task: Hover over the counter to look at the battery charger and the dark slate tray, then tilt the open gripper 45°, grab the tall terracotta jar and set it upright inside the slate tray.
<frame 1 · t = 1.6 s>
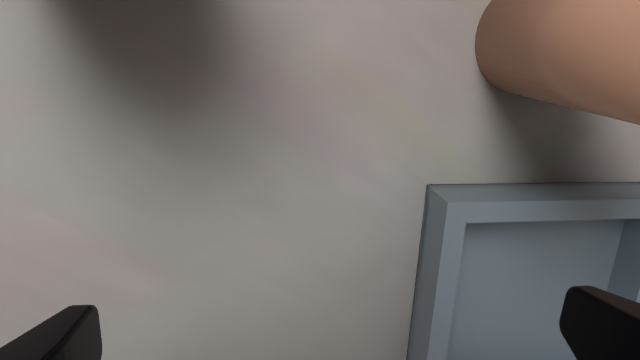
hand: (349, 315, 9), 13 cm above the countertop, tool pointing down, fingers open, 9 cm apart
tray: (518, 286, 26), on the countertop
jar: (526, 38, 21), on the countertop
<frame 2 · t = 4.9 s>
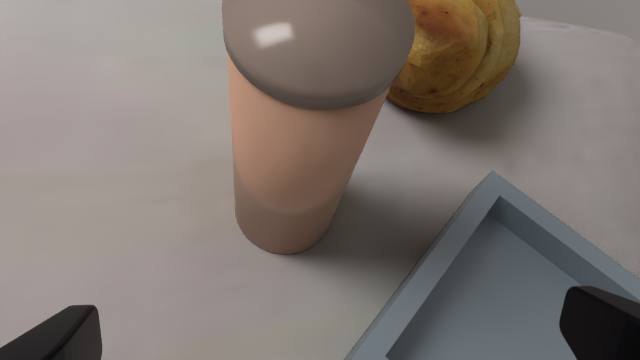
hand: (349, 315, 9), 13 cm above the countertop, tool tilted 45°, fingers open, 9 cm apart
tray: (512, 349, 22), on the countertop
bread roll: (404, 51, 31), on the countertop
jar: (284, 207, 24), on the countertop
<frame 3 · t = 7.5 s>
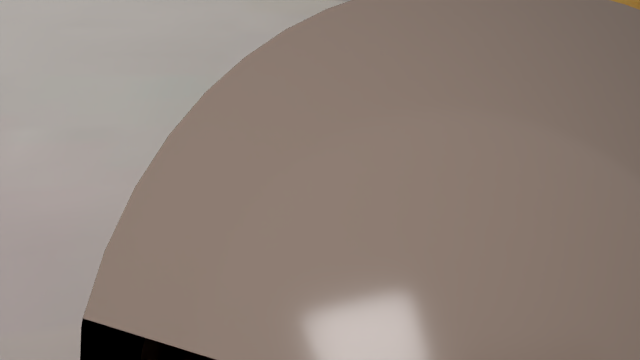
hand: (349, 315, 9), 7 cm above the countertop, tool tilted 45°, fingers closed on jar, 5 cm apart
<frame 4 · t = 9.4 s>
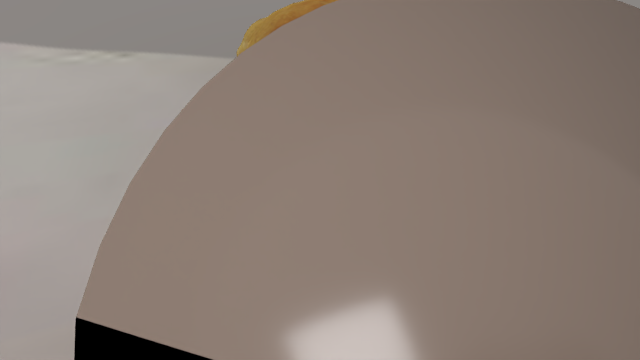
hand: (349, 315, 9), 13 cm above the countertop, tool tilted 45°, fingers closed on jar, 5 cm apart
bread roll: (326, 129, 27), on the countertop
when the fingers open (9 cm above the countertop, at t = 11.6 s): jar drops 2 cm, resting on tray.
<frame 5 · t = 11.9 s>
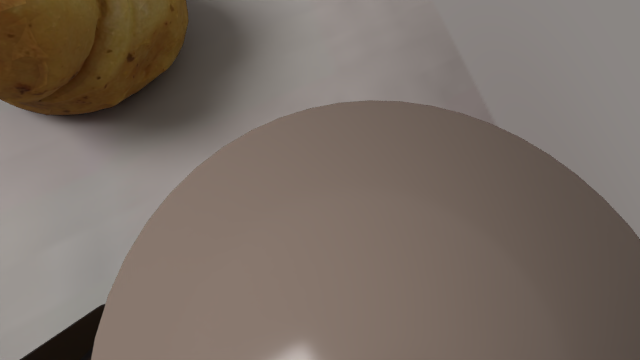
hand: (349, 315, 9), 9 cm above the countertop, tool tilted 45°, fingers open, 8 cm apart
bread roll: (66, 33, 22), on the countertop
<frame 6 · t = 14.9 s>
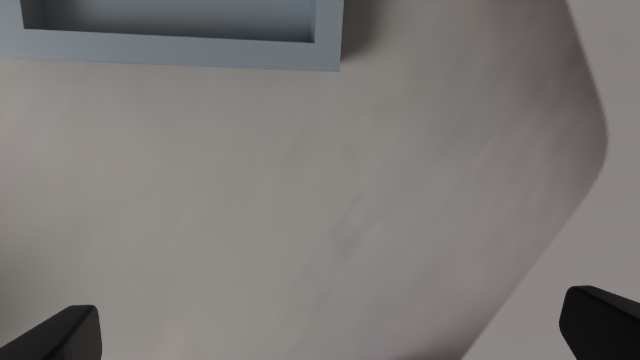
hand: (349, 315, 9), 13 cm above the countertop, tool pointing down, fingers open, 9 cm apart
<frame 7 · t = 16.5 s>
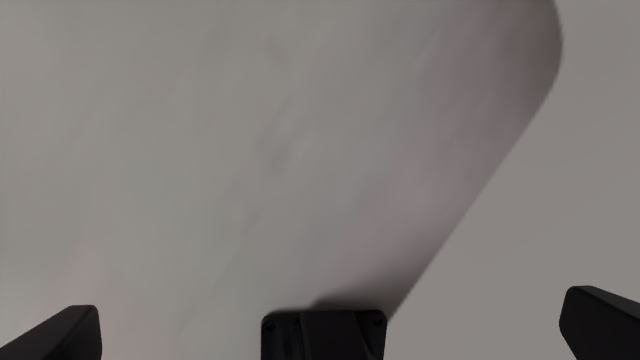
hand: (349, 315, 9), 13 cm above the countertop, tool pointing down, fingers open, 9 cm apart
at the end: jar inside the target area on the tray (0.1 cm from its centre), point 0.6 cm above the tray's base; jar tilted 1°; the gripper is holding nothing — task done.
